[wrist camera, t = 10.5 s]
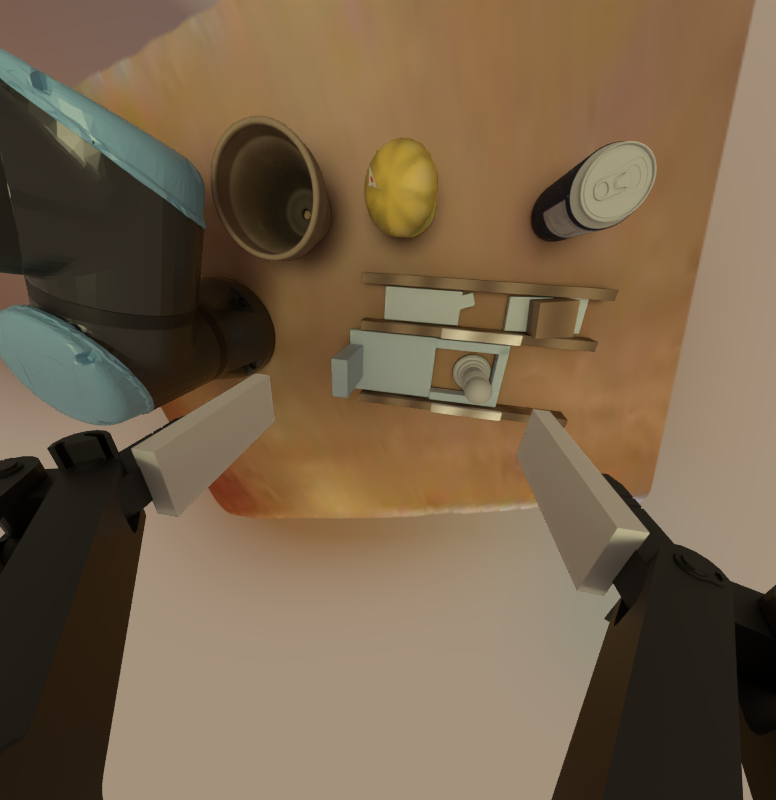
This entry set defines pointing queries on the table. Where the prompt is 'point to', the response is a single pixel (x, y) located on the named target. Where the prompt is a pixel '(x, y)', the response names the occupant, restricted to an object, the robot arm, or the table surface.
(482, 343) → the pale grey slab
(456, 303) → the broken strip
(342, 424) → the table surface
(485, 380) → the chess piece
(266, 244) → the flower pot
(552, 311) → the walnut cube
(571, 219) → the beverage can
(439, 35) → the table surface
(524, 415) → the lane rails
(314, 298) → the table surface
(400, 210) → the hamburger
